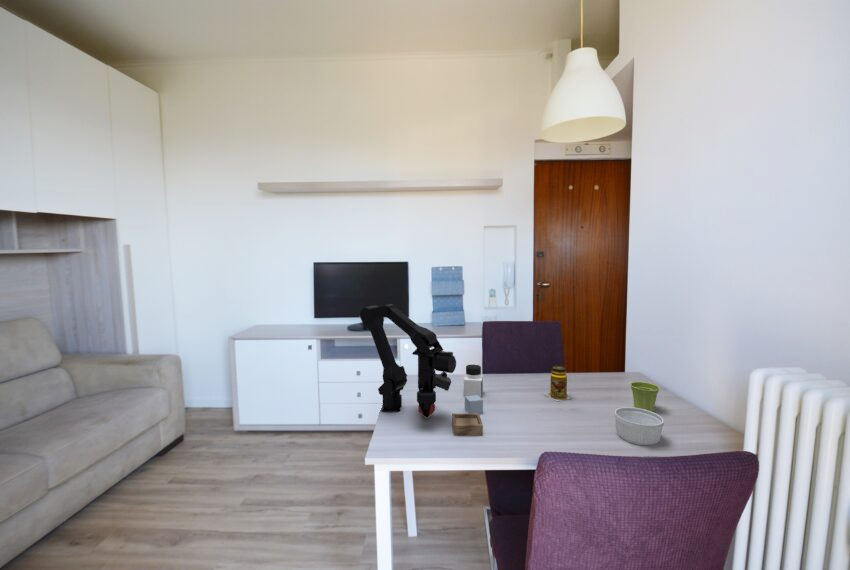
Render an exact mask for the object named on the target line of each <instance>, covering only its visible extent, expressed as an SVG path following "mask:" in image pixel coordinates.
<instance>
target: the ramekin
mask: <svg viewBox="0 0 850 570" xmlns="http://www.w3.org/2000/svg"><path fill="white" fill-rule="evenodd" d="M614 419H615V429H616V433H617V434H618V436H619V437H620V438H621V439H623V440H624V441H626V442H628V443H631V444H634V445H639V446H654V445H656V444H657V443H659V442H660V440H661V436H662V431H663V427H664V424H665V420H664V418H663V417H662V416H661V415H660V414H658V413H656V412H654V411H648V410H645V409H640V408H635V407H634V406H624V407H619V408H616V409H615V410H614Z"/></svg>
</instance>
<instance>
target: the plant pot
mask: <svg viewBox="0 0 850 570" xmlns="http://www.w3.org/2000/svg"><path fill="white" fill-rule="evenodd" d="M629 386H630V388H631V390H632V391H631V392H632V400H633V407H634V408H640V409H645V410H648V411H651V412H654V411H655V405H656V401H657V397H658V394H659V391H660V390H661V387H660V386H658V385H656V384H653V383H649V382H645V381H632V382H630V383H629Z"/></svg>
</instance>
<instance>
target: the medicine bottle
mask: <svg viewBox="0 0 850 570" xmlns="http://www.w3.org/2000/svg"><path fill="white" fill-rule="evenodd" d="M483 380H484V376H483V374H482V367H481V365H479V364H476V363H469V364H467V365H466V366H465V375H464V378H463V397H465V396H473V395H478V396H479V397H480V398H481V399H482V397H483V391H484V389H483V388H484V383H483V382H484V381H483Z"/></svg>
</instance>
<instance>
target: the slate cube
mask: <svg viewBox="0 0 850 570" xmlns="http://www.w3.org/2000/svg"><path fill="white" fill-rule="evenodd" d="M464 410H465V411H466V413H479V415H480V414H483V413H484V400H483V398H482V397H481V398H480V397H479V396H478V395H473V396H464Z"/></svg>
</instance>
